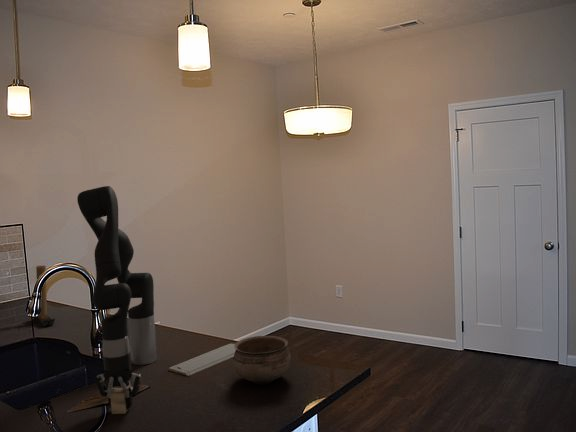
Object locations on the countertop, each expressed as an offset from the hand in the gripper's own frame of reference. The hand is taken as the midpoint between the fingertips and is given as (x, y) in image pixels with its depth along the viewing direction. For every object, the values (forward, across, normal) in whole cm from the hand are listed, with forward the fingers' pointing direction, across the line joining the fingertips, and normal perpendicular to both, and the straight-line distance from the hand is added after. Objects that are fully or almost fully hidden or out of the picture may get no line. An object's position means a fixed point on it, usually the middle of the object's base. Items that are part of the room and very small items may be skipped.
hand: (120, 408), depth 153 cm
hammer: (+1, +77, -98) cm, 124 cm away
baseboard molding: (+2, -19, -40) cm, 45 cm away
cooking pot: (+1, -40, -20) cm, 45 cm away
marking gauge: (+1, 0, -4) cm, 4 cm away
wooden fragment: (+1, +7, -9) cm, 11 cm away
